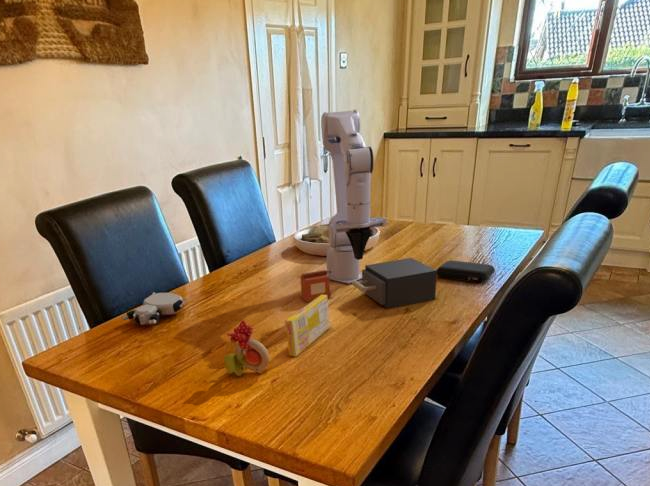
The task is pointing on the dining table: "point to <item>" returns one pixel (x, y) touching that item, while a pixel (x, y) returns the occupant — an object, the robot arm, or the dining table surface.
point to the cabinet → (406, 281)
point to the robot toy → (156, 308)
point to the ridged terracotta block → (314, 285)
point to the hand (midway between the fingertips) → (358, 258)
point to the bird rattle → (254, 355)
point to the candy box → (307, 325)
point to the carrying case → (465, 271)
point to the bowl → (323, 239)
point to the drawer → (372, 286)
